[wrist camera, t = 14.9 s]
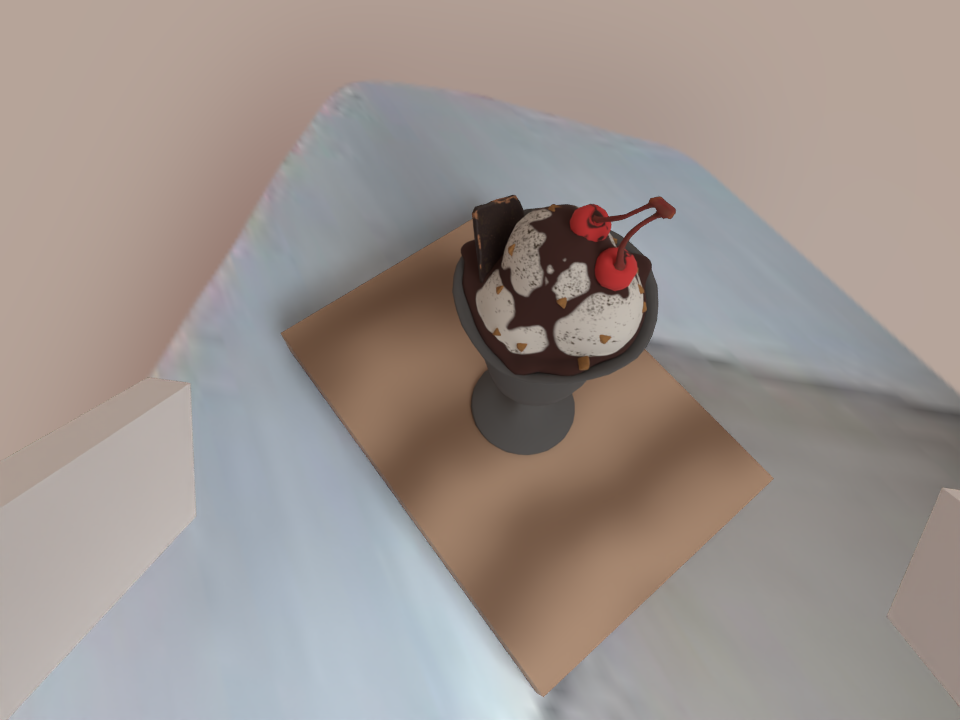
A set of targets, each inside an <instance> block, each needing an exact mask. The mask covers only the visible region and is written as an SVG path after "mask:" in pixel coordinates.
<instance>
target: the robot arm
mask: <svg viewBox="0 0 960 720" xmlns="http://www.w3.org/2000/svg"><path fill="white" fill-rule="evenodd" d="M195 517H196V502H195V479H194V456H193V433H192V410H191V387H190V383H186V382H179V381H172V380H164V379H157V378H150V377H148V378H146V379H144V380H142V381H141V382H139V383H137V384H135V385H133V386H132V387H130V388H128V389H126V390H125V391H123V392H121V393H119V394H118V395H116V396H115V397H112V398H111V399H109V400H107V401H106V402H104V403H102V404H100V405H98V406H97V407H95V408H93V409H91V410H89V411H88V412H86V413H84V414H82V415H81V416H79V417H77V418H75V419H74V420H72V421H70V422H68V423H67V424H65V425H63V426H61V427H60V428H58V429H56V430H54V431H52V432H51V433H49V434H47V435H45V436H44V437H42V438H40V439H38V440H37V441H35V442H33V443H32V444H30V445H28V446H26V447H24V448H23V449H21V450H19V451H17V452H15V453H14V454H12V455H10V456H8V457H7V458H5V459H3V460H1V461H0V720H8V719H9V717H10V716H11V715H12V714H13V713H14V712H15V711H16V710H17V709H18V708H19V707H20V706H21V705H22V703H23V702H24V701H25V700H26V699H27V698H28V697H29V696H30V695H31V694H32V693H33V692H34V691H35V689H36V688H37V687H38V686H39V685H40V684H41V683H42V682H43V681H44V680H45V679H46V678H47V677H48V675H49V674H50V673H51V672H52V671H53V670H54V669H55V668H56V667H57V666H58V665H59V664H60V663H61V661H62V660H63V659H64V658H65V657H66V656H67V655H68V654H69V653H70V652H71V651H72V650H73V648H74V647H75V646H76V645H77V644H78V643H79V642H80V641H81V640H82V639H83V638H84V637H85V636H86V634H87V633H88V632H89V631H90V630H91V629H92V628H93V627H94V626H95V625H96V624H97V623H98V622H99V620H100V619H101V618H102V617H103V616H104V615H105V614H106V613H107V612H108V611H109V610H110V609H111V608H112V606H113V605H114V604H115V603H116V602H117V601H118V600H119V599H120V598H121V597H122V596H123V595H124V594H125V592H126V591H127V590H128V589H129V588H130V587H131V586H132V585H133V584H134V583H135V582H136V581H137V580H138V578H139V577H140V576H141V575H142V574H143V573H144V572H145V571H146V570H147V569H148V568H149V567H150V565H151V564H152V563H153V562H154V561H155V560H156V559H157V558H158V557H159V556H160V555H161V554H162V553H163V551H164V550H165V549H166V548H167V547H168V546H169V545H170V544H171V543H172V542H173V541H174V540H175V539H176V537H177V536H178V535H179V534H180V533H181V532H182V531H183V530H184V529H185V528H186V527H187V526H188V525H189V523H190V522H191V521H192V520H193V519H194V518H195ZM887 618H888V619H889V620H890V621H891V622H892V624H893V625H894V626H895V627H896V629H897V630H898V631H899V632H900V634H901V635H902V636H903V637H904V639H905V640H906V641H907V642H908V644H909V645H910V646H911V647H912V649H913V650H914V651H915V652H916V653H917V655H918V656H919V657H920V658H921V660H922V661H923V662H924V663H925V665H926V666H927V667H928V668H929V670H930V671H931V672H932V673H933V675H934V676H935V677H936V678H937V680H938V681H939V682H940V683H941V684H942V686H943V687H944V688H945V689H946V691H947V692H948V693H949V694H950V696H951V697H952V698H953V699H954V701H955V702H956V703H957V704H958V706H959V707H960V490H956V489H949V488H942V489H941V491H940V494H939V496H938V498H937V501H936V503H935V505H934V508H933V510H932V512H931V515H930V517H929V519H928V521H927V524H926V526H925V528H924V531H923V533H922V535H921V538H920V540H919V542H918V545H917V547H916V549H915V552H914V554H913V556H912V559H911V561H910V563H909V566H908V568H907V570H906V573H905V575H904V577H903V580H902V582H901V584H900V587H899V589H898V591H897V594H896V596H895V598H894V601H893V603H892V605H891V608H890V610H889V612H888V615H887Z"/></svg>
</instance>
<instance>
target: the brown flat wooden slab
mask: <svg viewBox="0 0 960 720" xmlns="http://www.w3.org/2000/svg"><path fill="white" fill-rule="evenodd" d="M471 240H474V229H473V219H471V220H470V221H468V222H466V223H465V224H463V225H461V226H460V227H458V228H456V229H455V230H453V231H451V232H450V233H448V234H446V235H444V236H443V237H441V238H439V239H438V240H436V241H434V242H433V243H431V244H429V245H428V246H426V247H424V248H423V249H421V250H419V251H418V252H416V253H414V254H413V255H411V256H409V257H408V258H406V259H404V260H403V261H401V262H399V263H397V264H396V265H394V266H392V267H391V268H389V269H387V270H386V271H384V272H382V273H381V274H379V275H377V276H376V277H374V278H372V279H371V280H369V281H367V282H366V283H364V284H362V285H361V286H359V287H357V288H356V289H354V290H352V291H350V292H349V293H347V294H345V295H344V296H342V297H340V298H339V299H337V300H335V301H334V302H332V303H330V304H329V305H327V306H325V307H324V308H322V309H320V310H319V311H317V312H315V313H314V314H312V315H310V316H308V317H307V318H305V319H303V320H302V321H300V322H298V323H297V324H295V325H293V326H292V327H290V328H288V329H287V330H285V331H283V332H282V333H281V335H282V337H283V338H284V340H285V342H286V344H287V346H288V347H289V349H290V351H291V352H292V354H293V355H294V357H295V358H296V359H297V361H298V362H299V364H300V365H301V366H302V368H303V369H304V370H305V372H306V373H307V375H308V376H309V377H310V379H311V380H312V382H313V383H314V384H315V386H316V387H317V389H318V390H319V391H320V393H321V394H322V395H323V397H324V398H325V400H326V401H327V402H328V404H329V405H330V407H331V408H332V409H333V411H334V412H335V413H336V415H337V416H338V418H339V419H340V420H341V422H342V423H343V425H344V426H345V427H346V429H347V430H348V432H349V433H350V434H351V436H352V437H353V438H354V440H355V441H356V443H357V444H358V445H359V447H360V448H361V450H362V451H363V452H364V454H365V455H366V457H367V458H368V459H369V461H370V462H371V463H372V465H373V466H374V468H375V469H376V470H377V472H378V473H379V475H380V476H381V477H382V479H383V480H384V482H385V483H386V484H387V486H388V487H389V488H390V490H391V491H392V493H393V494H394V495H395V497H396V498H397V500H398V501H399V502H400V504H401V505H402V507H403V508H404V509H405V511H406V512H407V513H408V515H409V516H410V518H411V519H412V520H413V522H414V523H415V525H416V526H417V527H418V529H419V530H420V531H421V533H422V534H423V536H424V537H425V538H426V540H427V541H428V543H429V544H430V545H431V547H432V548H433V550H434V551H435V552H436V554H437V555H438V556H439V558H440V559H441V561H442V562H443V563H444V565H445V566H446V568H447V569H448V570H449V572H450V573H451V575H452V576H453V577H454V579H455V580H456V581H457V583H458V584H459V586H460V587H461V588H462V590H463V591H464V593H465V594H466V595H467V597H468V598H469V600H470V601H471V602H472V604H473V605H474V606H475V608H476V609H477V611H478V612H479V613H480V615H481V616H482V618H483V619H484V620H485V622H486V623H487V625H488V626H489V627H490V629H491V630H492V631H493V633H494V634H495V636H496V637H497V638H498V640H499V641H500V643H501V644H502V645H503V647H504V648H505V649H506V651H507V652H508V654H509V655H510V656H511V658H512V659H513V661H514V662H515V663H516V665H517V666H518V668H519V669H520V670H521V672H522V673H523V674H524V676H525V677H526V679H527V680H528V681H529V683H530V684H531V686H532V687H533V688H534V690H535V691H536V693H538V694H539V695H541V696H543V697H544V696H545V695H546V694H547V693H548V692H549V691H550V690H551V689H553V688H554V687H555V686H556V685H557V684H558V683H559V682H560V681H561V680H562V679H563V678H564V677H565V676H566V675H567V674H568V673H569V672H570V671H571V670H573V669H574V668H575V667H576V666H577V665H578V664H579V663H580V662H581V661H582V660H583V659H584V658H585V657H586V656H587V655H588V654H589V653H590V652H592V651H593V650H594V649H595V648H596V647H597V646H598V645H599V644H600V643H601V642H602V641H603V640H604V639H605V638H606V637H607V636H608V635H609V634H610V633H612V632H613V631H614V630H615V629H616V628H617V627H618V626H619V625H620V624H621V623H622V622H623V621H624V620H625V619H626V618H627V617H628V616H629V615H631V614H632V613H633V612H634V611H635V610H636V609H637V608H638V607H639V606H640V605H641V604H642V603H643V602H644V601H645V600H646V599H647V598H648V597H650V596H651V595H652V594H653V593H654V592H655V591H656V590H657V589H658V588H659V587H660V586H661V585H662V584H663V583H664V582H665V581H666V580H667V579H668V578H670V577H671V576H672V575H673V574H674V573H675V572H676V571H677V570H678V569H679V568H680V567H681V566H682V565H683V564H684V563H685V562H686V561H687V560H689V559H690V558H691V557H692V556H693V555H694V554H695V553H696V552H697V551H698V550H699V549H700V548H701V547H702V546H703V545H704V544H705V543H706V542H707V541H709V540H710V539H711V538H712V537H713V536H714V535H715V534H716V533H717V532H718V531H719V530H720V529H721V528H722V527H723V526H724V525H725V524H726V523H728V522H729V521H730V520H731V519H732V518H733V517H734V516H735V515H736V514H737V513H738V512H739V511H740V510H741V509H742V508H743V507H744V506H745V505H747V504H748V503H749V502H750V501H751V500H752V499H753V498H754V497H755V496H756V495H757V494H758V493H759V492H760V491H761V490H762V489H763V488H764V487H765V486H767V485H768V484H769V483H770V482H771V481H772V480H773V479H774V478H773V477H772V476H771V475H770V474H769V473H768V472H767V471H766V470H765V469H764V468H763V467H762V466H761V465H760V464H759V463H758V462H757V461H756V460H755V459H754V458H753V457H752V456H751V455H750V454H749V453H748V452H747V451H746V450H745V449H744V448H743V447H742V446H741V445H740V444H739V443H738V442H737V441H736V440H735V439H734V438H733V437H732V436H731V435H730V434H729V433H728V432H727V431H726V430H725V429H724V428H723V427H722V426H721V425H720V424H719V423H718V422H717V421H716V420H715V419H714V418H713V417H712V416H711V415H710V414H709V413H708V412H707V411H706V410H705V409H704V408H703V407H702V406H701V405H700V404H699V403H698V402H697V401H696V400H695V399H694V398H693V397H692V396H691V395H690V394H689V393H688V392H687V391H686V390H685V389H684V388H683V387H682V386H681V385H680V384H679V383H678V382H677V381H676V380H675V379H674V378H673V377H672V376H671V375H670V374H669V373H668V372H667V371H666V370H665V369H664V368H663V367H662V366H661V365H660V364H659V363H658V362H657V361H656V360H655V359H654V358H653V357H652V356H651V355H650V354H649V353H648V352H647V351H646V350H645V349H644V351H643V352H642V353H641V354H640V355H639V357H638V358H637V359H635V360H634V361H632V362H631V363H629V364H628V365H626V366H625V367H623V368H621V369H619V370H617V371H615V372H613V373H611V374H609V375H606V376H602V377H598V378H595V379H591V380H587V381H586V382H585V383H584V384H583V385H582V386H581V387H580V388H579V389H577V390H576V391H575V392H573V393H572V395H573V398H574V402H575V414H574V421H573V424H572V426H571V428H570V430H569V432H568V433H567V435H566V436H565V438H564V439H563V440H562V441H561V442H559V443H558V444H557V445H556V446H554V447H553V448H551V449H550V450H548V451H545V452H542V453H538V454H533V455H518V454H513V453H508V452H505V451H503V450H501V449H499V448H497V447H496V446H494V445H493V444H491V443H490V442H488V440H487V439H486V438H485V437H484V436H483V435H482V434H481V432H480V431H479V429H478V428H477V426H476V424H475V421H474V418H473V415H472V410H471V400H472V394H473V390H474V387H475V385H476V383H477V382H478V380H479V378H480V377H481V376H482V374H483V373H484V372H485V371H487V370H488V368H487V365H486V363H485V360H484V358H483V357H482V356H481V354H480V353H479V352H478V350H477V349H476V348H475V346H474V345H473V344H472V342H471V340H470V339H469V337H468V335H467V334H466V332H465V331H464V329H463V327H462V325H461V322H460V319H459V317H458V314H457V311H456V307H455V303H454V298H453V293H452V288H453V276H454V272H455V268H456V265H457V263H458V261H459V259H460V257H461V256H462V255H461V247H462V246H463V245H464V244H465V243H467V242H469V241H471Z"/></svg>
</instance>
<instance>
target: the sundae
mask: <svg viewBox="0 0 960 720" xmlns="http://www.w3.org/2000/svg"><path fill="white" fill-rule="evenodd" d="M652 207H653V208H656V210H657V212H656V213H655V214H653V215H652V216H650V217H648V218H647V219H645V220H644V221H642V222H640V223H639V224H637V225H636V226H635V227H634V228H633V229H631V230H630V231H629V232H628V233H627V235H626V236H625V237H624V238H623V237H622V236H621V235H619V234H617V233H615V232H613V231H611V222H612V221H619V220H623V219H626V218H628V217H630V216H632V215H634V214H637V213H639V212H641V211H643V210H645V209H649V208H652ZM675 213H676V209H675V208H674V207H673V206H671V205H670V204H669V203H668V202H666V201H665V200H664V199H663V198H662V197H654V198H650V200H649V203H648V204H646V205H644V206H642V207H640V208H638V209H635V210H633V211H631V212H629V213H627V214H624V215H618V216H610V217H609V216H608V214H607V212H606V210H604V209H603V208H601V207H599V206H598V205H595V204H589V205H586V206H583V207H577V206H574V205H568V204H564V205H555V204H552V205H551V206H549V207H544V208H535V209H526V210H523V208H522V205H521V203H520V201H519V200H518V198H517V197H516V195H511V196H508V197H504V198H500V199H496V200H493V201H491V202H489V203H487V204H484V205H480V206H477V207H475V208H474V210H473V212H472V219H473V229H474V240H471V241H469V242H467V243H465V244H464V245H463V246H462V247H461V255H462V256H461V257H460V259H459V261H458V263H457V265H456V268H455V272H454V276H453V288H452V293H453V298H454V303H455V307H456V311H457V314H458V317H459V319H460V322H461V325H462V327H463V329H464V331H465V332H466V334H467V335H468V337H469V339H470V340H471V342H472V344H473V345H474V346H475V348H476V349H477V350H478V352H479V353H480V354H481V356H482V357H483V358H484V360H485V363H486V365H487V368H488V370H487V371H485V372H484V373H483V374H482V376H481V377H480V378H479V380H478V382H477V383H476V385H475V387H474V390H473V394H472V400H471V410H472V415H473V418H474V421H475V424H476V426H477V428H478V429H479V431H480V432H481V434H482V435H483V436H484V437H485V438H486V439H487V440H488V442H490V443H491V444H493V445H494V446H496V447H497V448H499V449H501V450H503V451H505V452H508V453H513V454H518V455H533V454H538V453H542V452H545V451H548V450H550V449H551V448H553V447H554V446H556V445H557V444H558V443H559V442H561V441H562V440H563V439H564V438H565V436H566V435H567V433H568V432H569V430H570V428H571V426H572V424H573V421H574V414H575V402H574V398H573V395H572V393H573V392H575V391H576V390H577V389H579V388H580V387H581V386H582V385H583V384H584V383H585V382H586V381H587V380H591V379H595V378H598V377H602V376H606V375H609V374H611V373H613V372H615V371H617V370H619V369H621V368H623V367H625V366H626V365H628V364H629V363H631V362H632V361H634V360H635V359H637V358H638V357H639V355H640V354H641V353H642V352H643V351H644V349H645V348H646V347H647V345H648V343H649V341H650V339H651V337H652V335H653V331H654V328H655V325H656V322H657V314H658V288H657V283H656V280H655V278H654V275H653V272H652V269H651V268H652V264H651V261H650V260H649V259H648V258H647V257H646V256H644V255H643V254H642V253H641V252H640V251H639V250H638V249H637V248H636V247H635V246H634V245H633V244H631V243H630V242H629V239H630V238H631V237H632V236H633V235H634V234H635V233H636V232H637V231H638V230H639V229H640V228H641V227H643V226H644V225H646V224H647V223H649V222H651V221H653V220H655V219H657V218H661V217H662V218H663V219H664V218H668V219H671V218H672V217H673V216H674V214H675Z"/></svg>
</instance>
